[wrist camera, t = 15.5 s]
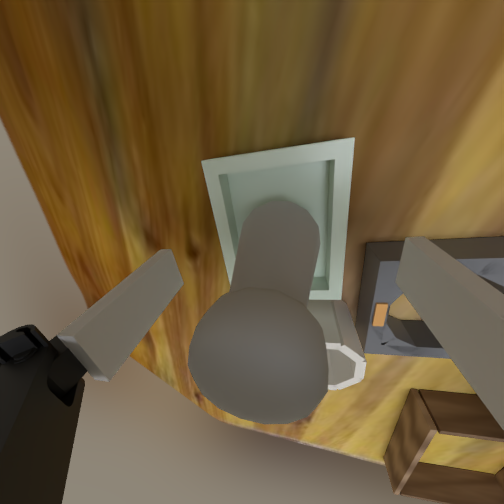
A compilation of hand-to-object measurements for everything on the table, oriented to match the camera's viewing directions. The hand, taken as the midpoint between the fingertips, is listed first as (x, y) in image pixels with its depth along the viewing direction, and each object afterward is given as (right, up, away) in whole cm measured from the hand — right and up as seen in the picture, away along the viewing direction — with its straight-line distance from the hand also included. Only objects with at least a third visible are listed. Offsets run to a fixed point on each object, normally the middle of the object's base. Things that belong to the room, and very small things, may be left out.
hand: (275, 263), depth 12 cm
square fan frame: (+14, -3, +6) cm, 15 cm away
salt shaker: (+1, +3, +5) cm, 6 cm away
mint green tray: (+1, +3, +6) cm, 6 cm away
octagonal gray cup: (+5, -6, +9) cm, 12 cm away
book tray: (+27, -25, +16) cm, 40 cm away
